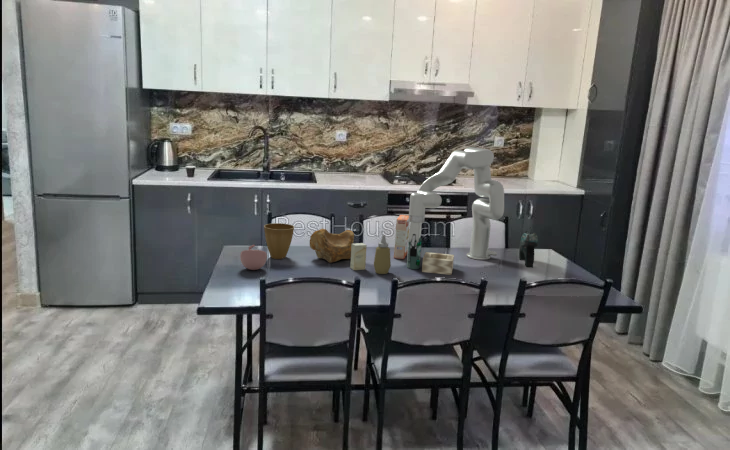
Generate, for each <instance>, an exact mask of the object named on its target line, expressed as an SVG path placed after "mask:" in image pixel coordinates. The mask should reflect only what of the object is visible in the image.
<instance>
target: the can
mask: <svg viewBox="0 0 730 450" xmlns="http://www.w3.org/2000/svg"><path fill="white" fill-rule="evenodd" d="M415 238H416V237H415ZM422 239H423V238H422V237H421V236H420V239H419V242H418V243H417V248H416V249H417V256H416V257H413V256H410V248H411V242H408V252H407V255H406V256H407V258H406V268H407V269H411V270H418V269H420V267H421V256H422V255H421V254H422V253H421V251H422V243H423V242H422V241H423V240H422ZM415 242H416V241H415ZM415 245H416V244H415Z"/></svg>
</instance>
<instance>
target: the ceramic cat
mask: <svg viewBox="0 0 730 450" xmlns="http://www.w3.org/2000/svg"><path fill="white" fill-rule="evenodd" d="M529 229H530V231H532V230H533V227H532V226H530V227H529ZM530 231H529V230H526V231H525V233H522V235H521V237H520V241H519V246H518V247H519V249H518V259H519V260H520V261H524V266H525V267H526V268H534V263H535V248H537V247H538V246H539V244H538V242H539V238H538V235H537V233H536V232H533V233H532V232H530Z"/></svg>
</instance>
